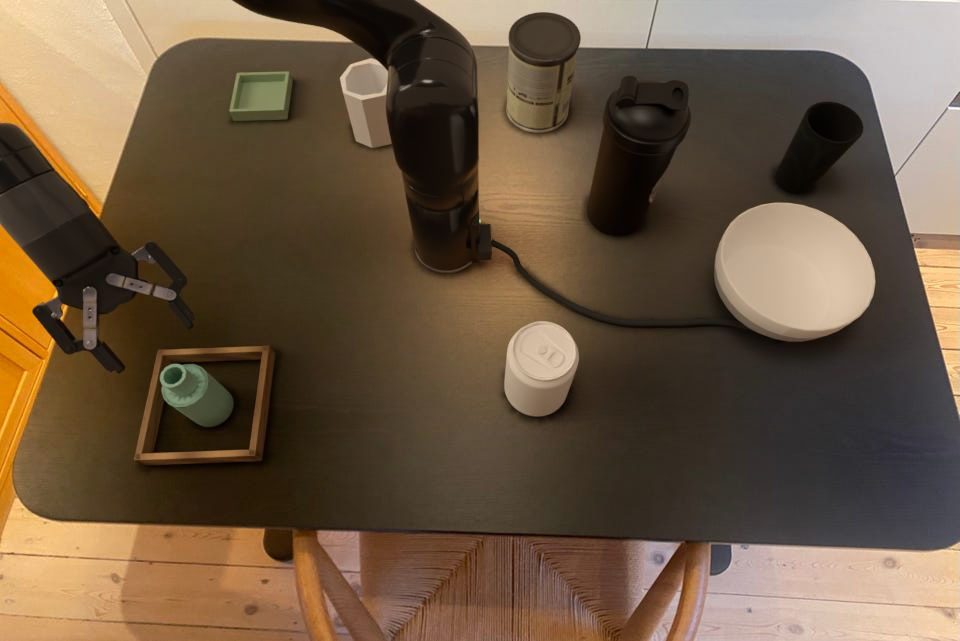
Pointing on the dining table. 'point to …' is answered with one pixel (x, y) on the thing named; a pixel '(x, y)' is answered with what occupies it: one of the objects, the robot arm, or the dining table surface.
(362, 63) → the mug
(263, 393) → the wooden square frame
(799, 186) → the cup
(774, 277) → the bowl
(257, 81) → the tray
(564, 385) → the beverage can
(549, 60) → the coffee can
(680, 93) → the water bottle
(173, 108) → the dining table surface
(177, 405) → the bottle
